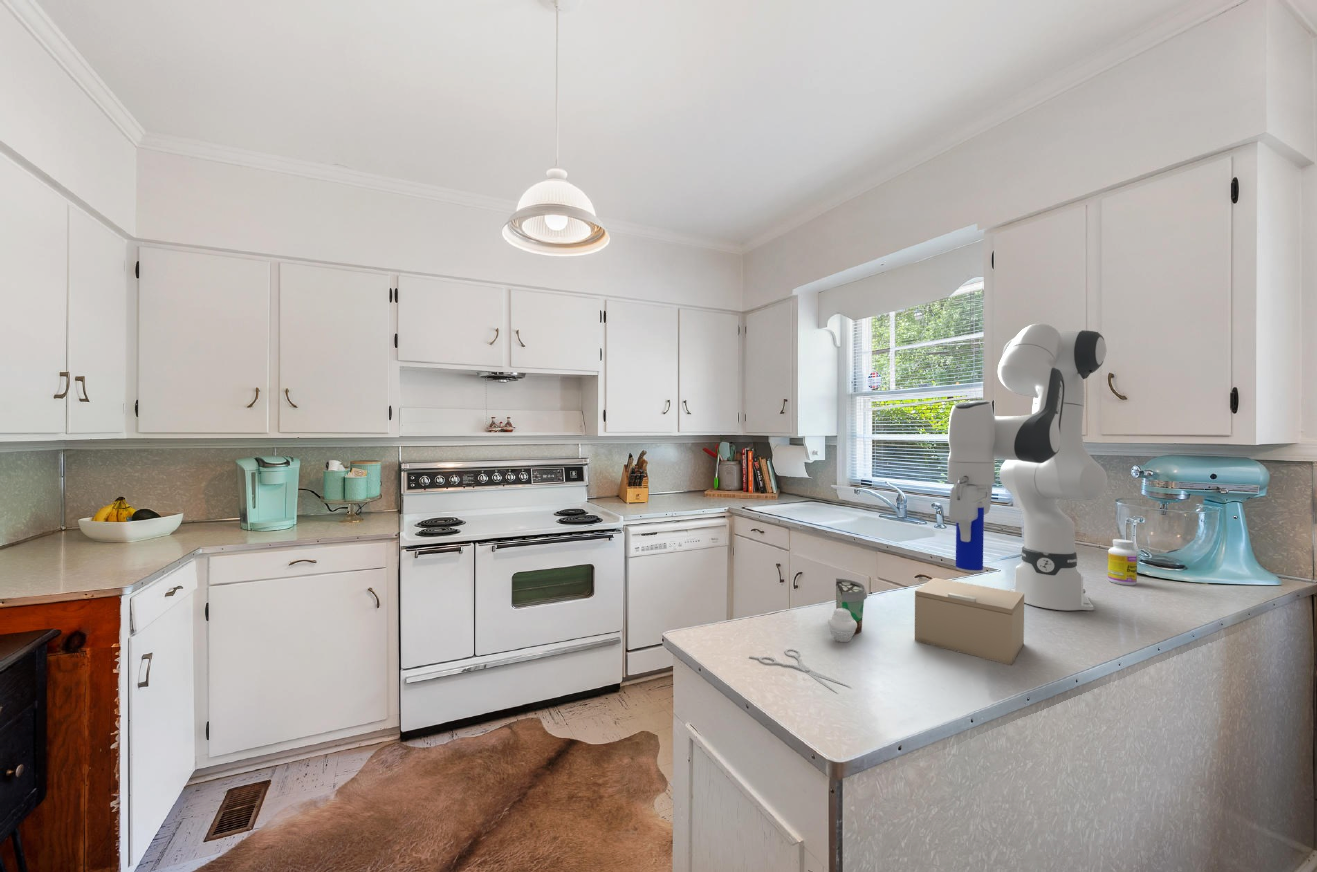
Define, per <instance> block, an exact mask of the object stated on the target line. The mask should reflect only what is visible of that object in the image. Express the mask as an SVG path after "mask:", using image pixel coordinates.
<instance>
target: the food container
mask: <svg viewBox="0 0 1317 872" xmlns="http://www.w3.org/2000/svg"><path fill="white" fill-rule="evenodd" d="M835 590H836V591H835V594H836V595H835V596H836V597H835V605H836V607H835V608H836V609H838V608H845V609H847V610H849V611H850V613H851V616H852V618H853V619H854V620H855V621H856V623H857V628H856V631H855V633H854V635H858V634H860V633H861V632H862V628H863V626H862V625H863V616H864V615H863V614H864V604H865V600H866V599H867V598H868V594H867V590H866V588H865V585H864V584H862V583H860V582H858V581H855V580H851V579H846V578H835ZM836 609H835V610H836Z"/></svg>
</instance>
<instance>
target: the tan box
mask: <svg viewBox="0 0 1317 872" xmlns="http://www.w3.org/2000/svg"><path fill="white" fill-rule="evenodd" d="M1024 635H1025V603H1024V599H1023V600H1022V602H1021V603H1020V604H1019V606H1018V607H1017V608H1016V610H1015V611H1014V612H1013V614H1008V613H1003V612H998V611H992V610H987V609H982V608H977V607H972V606H967V605H962V604H957V603H952V602H947V601H942V600H937V599H932V598H927V597H922V596H917V595H915V594H914V642H917V643H921V644H926V645H929V646H934V647H937V648H941V649H942V648H943V649H946V650H950V651H953V652H957V651H959V652H958V653H961V652H962V653H961V654H965V653H966V654H965V655H969V654H970V655H969V656H974V657H977V658H982V659H986V660H990V661H994V662H996V663H997V662H998V663H1002V664H1006V665H1010V666H1012V665H1013V663H1014V661H1015V660H1016V659H1017V656H1018V655H1019V653H1020V651H1021V649H1022V648H1023V646H1024V645H1025V644H1024V643H1025V641H1024V640H1025V636H1024Z"/></svg>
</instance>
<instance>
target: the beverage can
mask: <svg viewBox="0 0 1317 872" xmlns="http://www.w3.org/2000/svg"><path fill="white" fill-rule="evenodd" d="M984 517H985V515H984V506H983V503H982V502H980V503H978V517H977V519H975V520H973V521H972V522H971V533H972V540H971V541H969V542H964V541H961V533H960V529H959V523H956V522H955V568H956V569H957V570H958V571H960V572H962V573H963V572H964V573H970V574H978V573H981V572H982V571H983V570H984V535H985V534H984V531H985V530H984V527H985V525H984V523H985V520H984V519H985V518H984Z"/></svg>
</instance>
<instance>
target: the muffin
mask: <svg viewBox="0 0 1317 872" xmlns="http://www.w3.org/2000/svg"><path fill="white" fill-rule="evenodd" d="M827 625H828V628H829V631H830V632H831V635H832V636H833V638H834V640H835V641H837V642H840V643H848V642H850V641H851V639H852V638H853V636H855V634H854V633H855V631H856V628H857V623H856V621H855V620H854V619H853V618H852V616H851V613H850V611H849V610H847V609H845V608H838V609H834V610H833V614H832V615H831V616H830V617H829V618H828V619H827Z"/></svg>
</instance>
